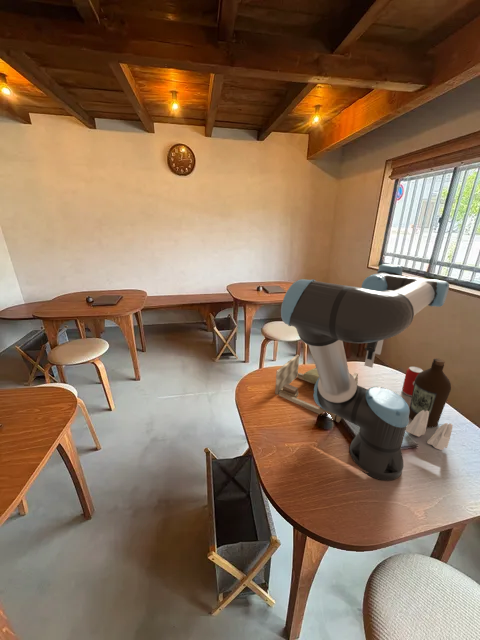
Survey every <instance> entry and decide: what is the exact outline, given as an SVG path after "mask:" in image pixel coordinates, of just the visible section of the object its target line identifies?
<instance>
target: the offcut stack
mask: <svg viewBox="0 0 480 640" xmlns="http://www.w3.org/2000/svg"><path fill="white" fill-rule="evenodd" d="M281 392H283V393H285V394H288V395H290V396H292V397H295V398H298V396H299V394H300V393H299V387H296V386H294V385H291V384H287V383H286V384H285V385H284V386H283V388H282V389H281Z"/></svg>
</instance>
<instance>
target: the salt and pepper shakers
mask: <svg viewBox="0 0 480 640" xmlns="http://www.w3.org/2000/svg"><path fill="white" fill-rule="evenodd" d="M428 417H429V411H424V410H422V411H421V412H419V413H418V414H417V415H416V416H415V417H414V419H413V421H412V420H411V422H410V423H408V425H407V426H406V430H405V432H406V433H409V434H411V435H414V436H416V437H418V438H420V437H422V436H425V435H426V432H427V431H426V430H427V428H428V427H427V422H428ZM452 432H453V424H452V423H450V422H449V423H447V422H445V423H443V424H442V425H440V426H439V427H438V428H437V429H436V430H435V432H434V433H433V435H432V436H431V437H429V439H428V440H426V443H427V444H428V445H431V446H433V448H435V449H437V450H440V451H443V450H444V449H448V446H449V443H450V439H451V436H452Z"/></svg>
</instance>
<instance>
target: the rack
mask: <svg viewBox="0 0 480 640" xmlns="http://www.w3.org/2000/svg"><path fill="white" fill-rule="evenodd" d="M299 364H300V355H299V354H295V356H293V357H292V358H290V360H288V361H287V362H286V363H284V364H283V365H282V366H281V367H280V368H278V369H277V370H276V374H275V392H274V394H275V395H277V396H279V397H281V398H283V399H285V400H288V401H290V402H292V403H294V404H295V405H297V406H301V408H305V409H307V410H308V411H311V412H314V413H315V414H318V415H320V413H322V412H327V413H328V414H330V415H331V417H332V419H333V420H332V419H331V420H332V421H335V422H337V423H340V421H341V420H342V418H341V417H339V416H336V415H335V414H333V413H331V412H329V411H326V410H324V409H321V408H320V406H318V405H314V404H312V403H309V402H307V401H304V400H303V399H299V398H298V397H296V398H295V397H292V396H290V395H288V394H285V393H283V392H281V389H282V388H283V386H284V385H285V384H286V383H287V384H289V385H291V383H292V382H293V381H295V379H297V378H298V379H300V380H303V381H305V382H308V383H310V384H312V385H315V384H316V383H314V382H311V381H308V380H305V379H304V378H303V375H304V373H301V372H299V366H300V365H299ZM352 376H353V377H354V379H355V380H356V383H357V377H359V373H358V372H354V373H353V375H352ZM335 417H336V418H335Z"/></svg>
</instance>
